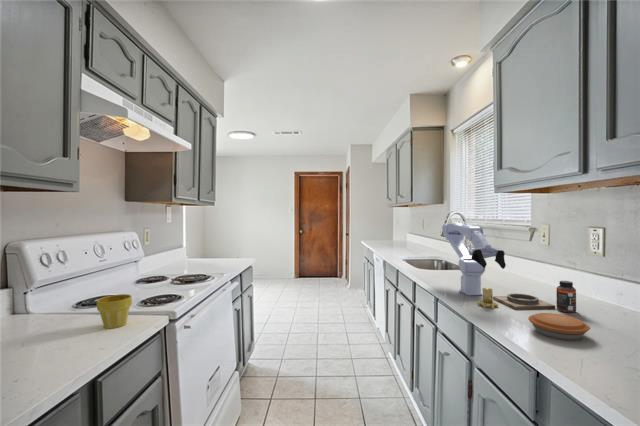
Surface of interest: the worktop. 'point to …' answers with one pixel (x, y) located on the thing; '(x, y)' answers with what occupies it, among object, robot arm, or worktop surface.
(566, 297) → the supplement bottle
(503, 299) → the collar board
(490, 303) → the planet gear
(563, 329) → the pie
